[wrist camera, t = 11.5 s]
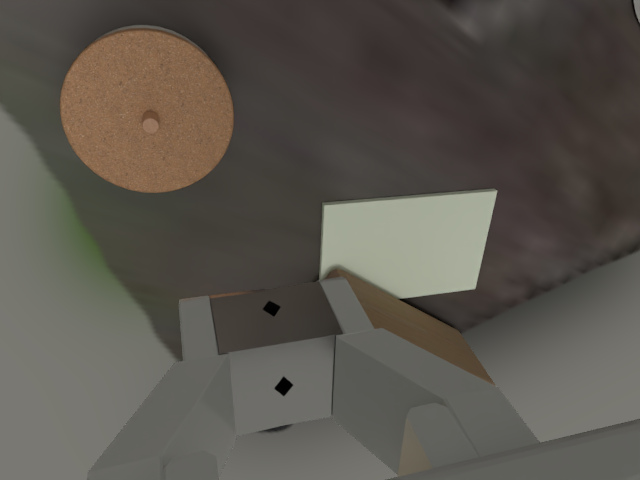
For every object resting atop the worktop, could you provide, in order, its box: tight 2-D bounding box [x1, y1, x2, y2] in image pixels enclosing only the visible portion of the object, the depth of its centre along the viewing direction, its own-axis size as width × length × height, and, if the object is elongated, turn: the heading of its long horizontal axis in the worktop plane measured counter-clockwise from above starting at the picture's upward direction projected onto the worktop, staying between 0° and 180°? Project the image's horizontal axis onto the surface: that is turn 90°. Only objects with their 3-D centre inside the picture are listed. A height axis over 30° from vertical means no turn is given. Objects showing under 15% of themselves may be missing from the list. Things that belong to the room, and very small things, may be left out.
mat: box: [319, 189, 497, 299], centre depth 55 cm, size 18×12×1 cm, turn 88°
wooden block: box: [325, 269, 495, 386], centre depth 55 cm, size 10×10×20 cm
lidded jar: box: [60, 25, 234, 193], centre depth 37 cm, size 11×11×9 cm
